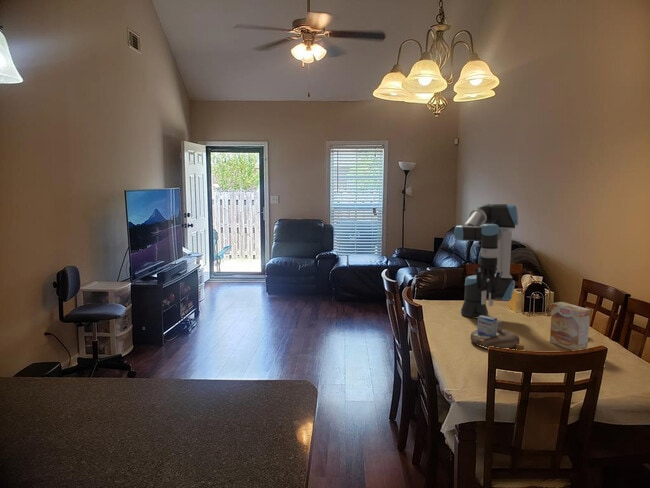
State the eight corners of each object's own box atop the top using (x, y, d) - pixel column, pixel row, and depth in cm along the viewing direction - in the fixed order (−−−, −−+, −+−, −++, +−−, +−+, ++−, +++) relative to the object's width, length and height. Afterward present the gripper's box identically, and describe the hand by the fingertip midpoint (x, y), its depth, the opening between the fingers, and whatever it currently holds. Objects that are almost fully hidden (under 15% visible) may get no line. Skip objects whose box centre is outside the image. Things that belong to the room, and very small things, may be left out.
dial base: (465, 342, 219) (465, 336, 219) (489, 334, 230) (489, 328, 229) (510, 357, 200) (510, 350, 199) (534, 347, 210) (534, 341, 210)
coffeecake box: (549, 342, 217) (551, 303, 215) (559, 340, 220) (561, 301, 217) (577, 352, 204) (579, 311, 201) (588, 350, 206) (590, 309, 204)
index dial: (461, 338, 219) (461, 325, 218) (488, 329, 232) (489, 316, 231) (501, 352, 201) (502, 337, 200) (528, 341, 214) (529, 327, 213)
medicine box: (476, 333, 220) (477, 316, 219) (481, 331, 223) (481, 314, 222) (492, 337, 214) (493, 319, 213) (496, 335, 217) (497, 317, 216)
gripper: (469, 255, 218) (468, 302, 221) (499, 259, 205) (497, 309, 208) (479, 253, 222) (477, 300, 225) (509, 258, 209) (507, 307, 212)
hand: (487, 304), depth 216 cm, fingers open, 3 cm apart
